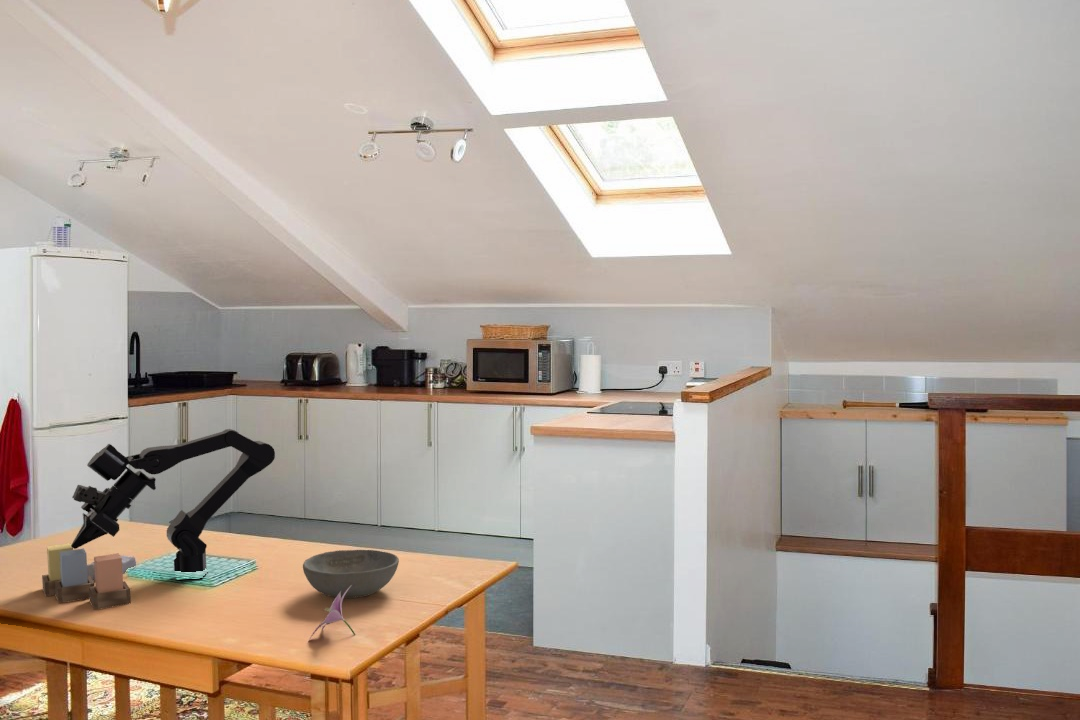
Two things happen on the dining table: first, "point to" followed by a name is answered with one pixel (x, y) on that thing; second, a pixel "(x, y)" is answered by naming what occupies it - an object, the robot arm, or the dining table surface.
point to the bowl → (350, 572)
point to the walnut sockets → (86, 593)
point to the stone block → (126, 563)
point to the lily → (334, 613)
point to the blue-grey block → (73, 567)
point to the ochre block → (55, 560)
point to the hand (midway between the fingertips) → (72, 547)
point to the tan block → (108, 573)
